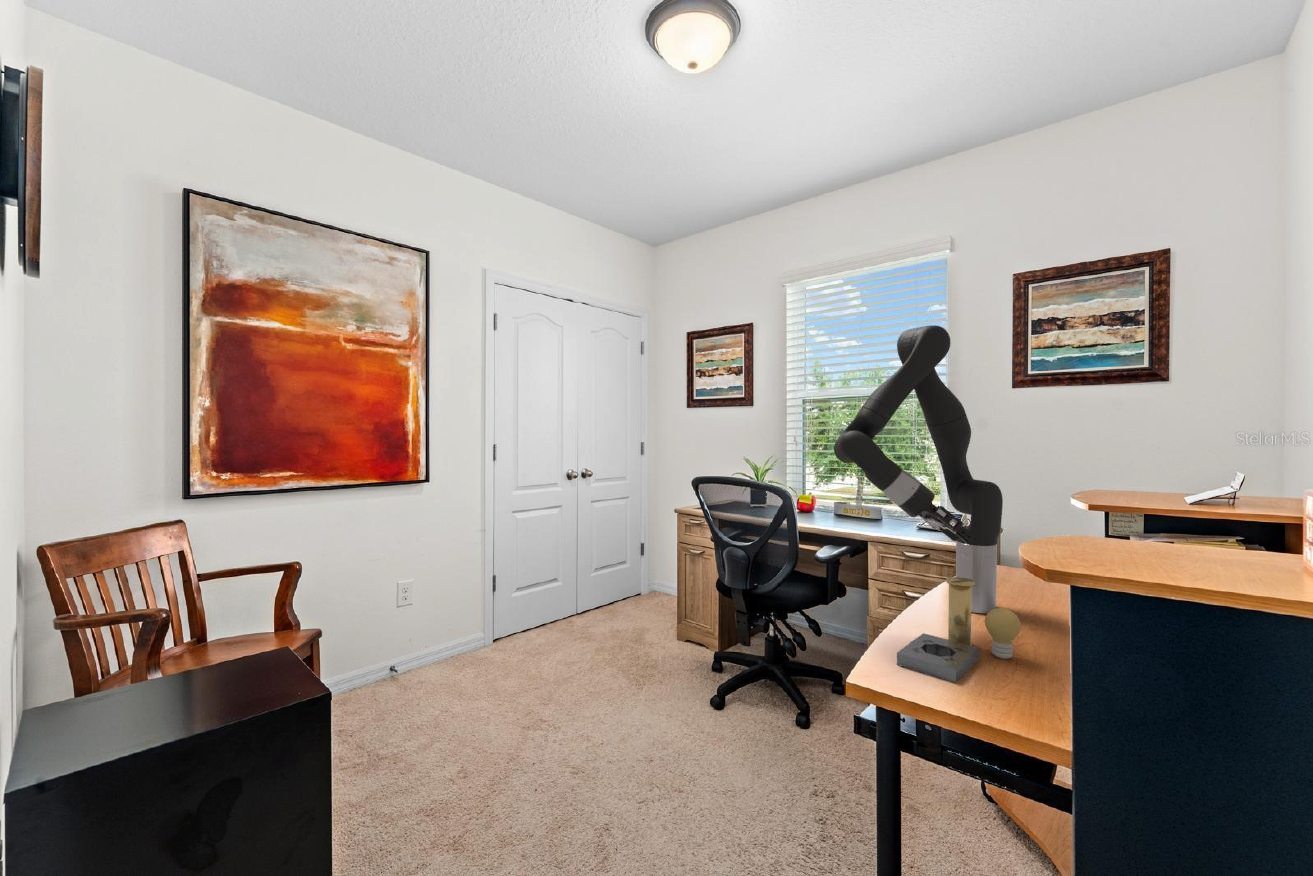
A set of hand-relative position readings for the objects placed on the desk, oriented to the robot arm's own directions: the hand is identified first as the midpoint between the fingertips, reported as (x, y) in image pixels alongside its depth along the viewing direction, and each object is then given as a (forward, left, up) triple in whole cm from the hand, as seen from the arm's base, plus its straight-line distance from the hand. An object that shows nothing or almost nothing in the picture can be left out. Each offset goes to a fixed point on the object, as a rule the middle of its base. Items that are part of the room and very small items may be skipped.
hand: (964, 539), depth 130 cm
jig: (+21, +2, -21) cm, 30 cm away
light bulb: (+9, +10, -22) cm, 26 cm away
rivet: (+8, +2, -21) cm, 23 cm away
